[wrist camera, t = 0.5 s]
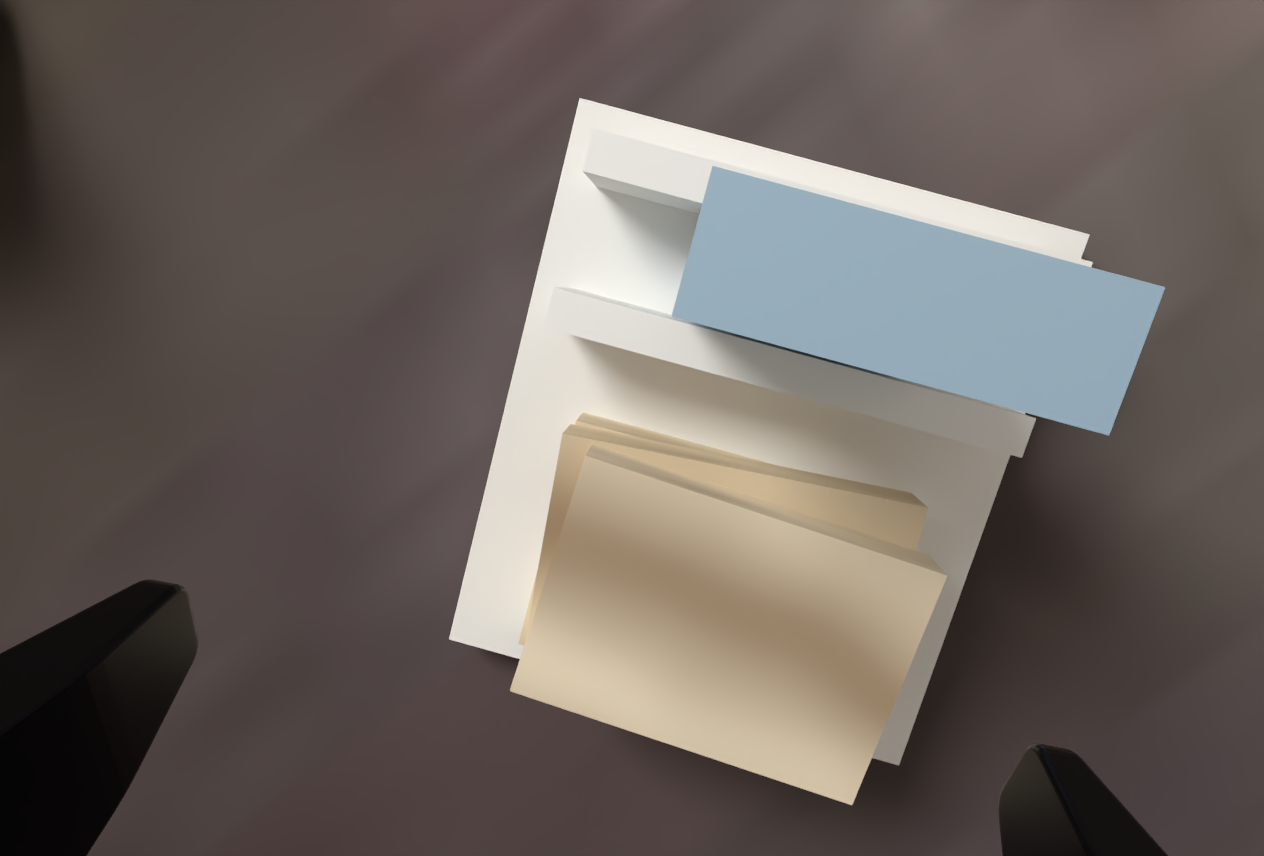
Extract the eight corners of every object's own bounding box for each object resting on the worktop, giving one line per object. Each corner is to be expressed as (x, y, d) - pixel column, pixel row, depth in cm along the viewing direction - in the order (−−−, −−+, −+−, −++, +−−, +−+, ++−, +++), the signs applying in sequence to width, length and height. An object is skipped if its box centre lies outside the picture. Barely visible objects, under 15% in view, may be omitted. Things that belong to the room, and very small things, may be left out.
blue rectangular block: (889, 358, 23) (1108, 435, 11) (678, 301, 23) (671, 316, 11) (912, 287, 22) (1165, 287, 11) (698, 229, 23) (712, 165, 11)
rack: (886, 738, 26) (927, 830, 22) (462, 619, 26) (417, 686, 22) (1063, 238, 23) (1152, 226, 19) (586, 110, 24) (563, 68, 19)
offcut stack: (837, 716, 25) (870, 810, 20) (523, 628, 25) (487, 702, 20) (915, 484, 23) (970, 531, 19) (583, 393, 23) (559, 418, 19)
